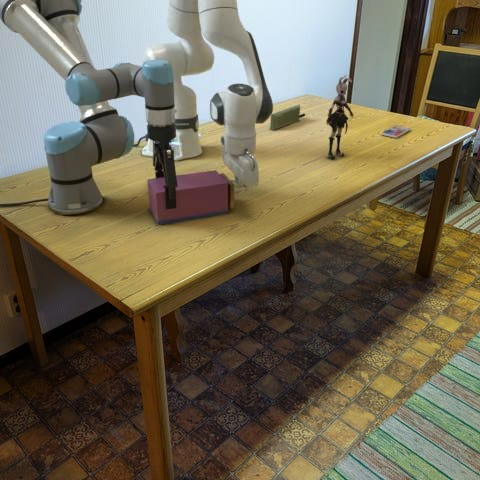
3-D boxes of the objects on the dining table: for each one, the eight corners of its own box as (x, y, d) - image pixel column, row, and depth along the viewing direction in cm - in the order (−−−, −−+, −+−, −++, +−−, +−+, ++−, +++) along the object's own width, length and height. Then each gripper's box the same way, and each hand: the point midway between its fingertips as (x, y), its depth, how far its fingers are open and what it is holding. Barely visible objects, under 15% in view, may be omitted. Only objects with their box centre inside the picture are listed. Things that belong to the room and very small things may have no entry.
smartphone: (411, 128, 218) (397, 136, 208) (410, 130, 218) (396, 138, 208) (395, 124, 222) (380, 132, 211) (394, 126, 222) (380, 134, 212)
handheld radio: (268, 129, 217) (300, 116, 234) (274, 130, 216) (306, 118, 233) (269, 113, 214) (302, 102, 231) (276, 115, 212) (308, 103, 229)
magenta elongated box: (216, 199, 155) (215, 170, 150) (227, 213, 147) (227, 182, 142) (149, 209, 148) (147, 179, 144) (158, 224, 140) (155, 193, 135)
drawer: (240, 193, 157) (241, 170, 153) (252, 205, 149) (253, 181, 146) (161, 205, 148) (160, 181, 145) (169, 218, 141) (168, 193, 137)
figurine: (327, 162, 183) (336, 77, 168) (315, 158, 187) (322, 74, 172) (352, 153, 191) (362, 71, 177) (339, 149, 195) (348, 69, 181)
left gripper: (187, 134, 124) (190, 215, 135) (164, 110, 143) (169, 183, 154) (157, 137, 122) (163, 219, 133) (138, 113, 140) (144, 186, 151)
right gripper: (265, 154, 136) (263, 201, 143) (237, 132, 153) (237, 175, 160) (243, 157, 134) (242, 204, 141) (218, 135, 151) (218, 178, 158)
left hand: (166, 200), depth 143 cm, fingers closed on magenta elongated box, 10 cm apart
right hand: (239, 189), depth 150 cm, fingers closed, pressing on drawer
